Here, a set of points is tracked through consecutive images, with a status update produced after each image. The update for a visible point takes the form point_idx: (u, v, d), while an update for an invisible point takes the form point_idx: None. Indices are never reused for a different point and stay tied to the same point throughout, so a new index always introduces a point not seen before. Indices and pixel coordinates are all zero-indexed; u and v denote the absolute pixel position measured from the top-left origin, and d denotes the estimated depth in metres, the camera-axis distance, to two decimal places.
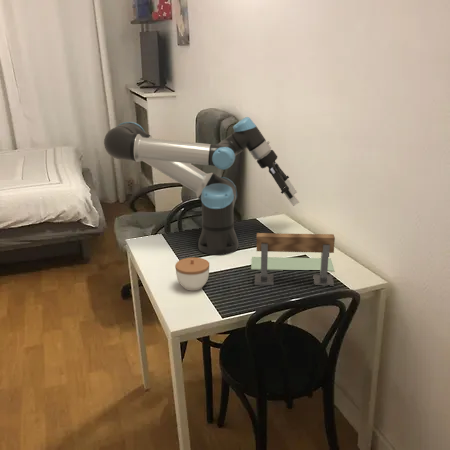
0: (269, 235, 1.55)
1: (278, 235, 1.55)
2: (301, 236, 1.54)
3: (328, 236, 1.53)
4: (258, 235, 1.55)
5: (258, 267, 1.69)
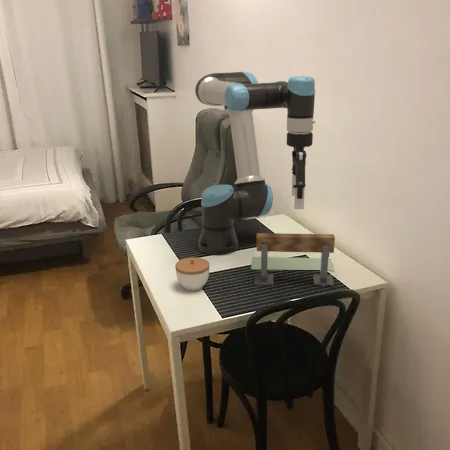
0: (269, 235, 1.55)
1: (278, 235, 1.55)
2: (301, 236, 1.54)
3: (328, 236, 1.53)
4: (258, 235, 1.55)
5: (258, 267, 1.69)
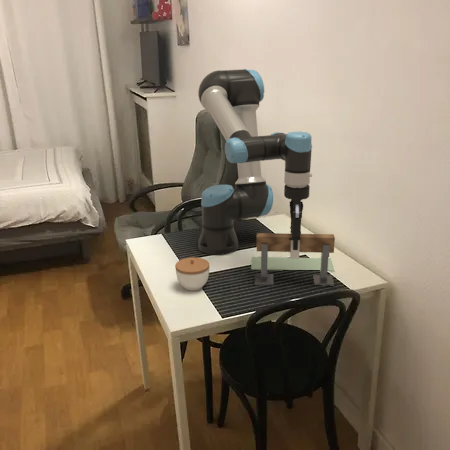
0: (269, 235, 1.55)
1: (278, 235, 1.55)
2: (301, 236, 1.54)
3: (328, 236, 1.53)
4: (258, 235, 1.55)
5: (258, 267, 1.69)
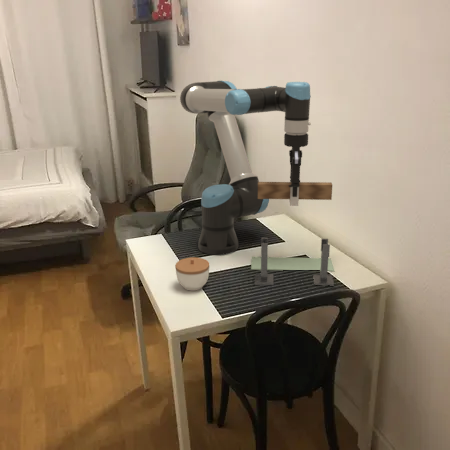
0: (270, 183, 1.62)
1: (278, 183, 1.62)
2: (300, 184, 1.61)
3: (326, 184, 1.60)
4: (259, 183, 1.62)
5: (258, 267, 1.69)
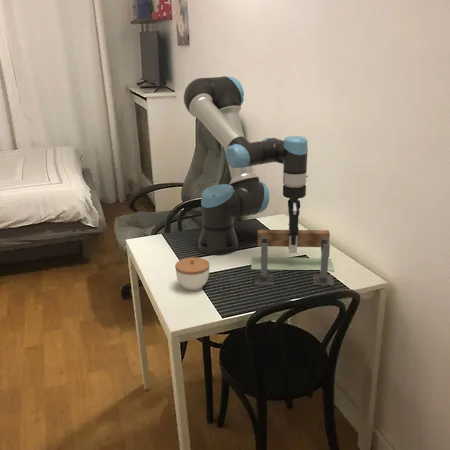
0: (269, 231, 1.68)
1: (277, 231, 1.68)
2: (299, 232, 1.67)
3: (324, 232, 1.66)
4: (259, 231, 1.68)
5: (258, 267, 1.69)
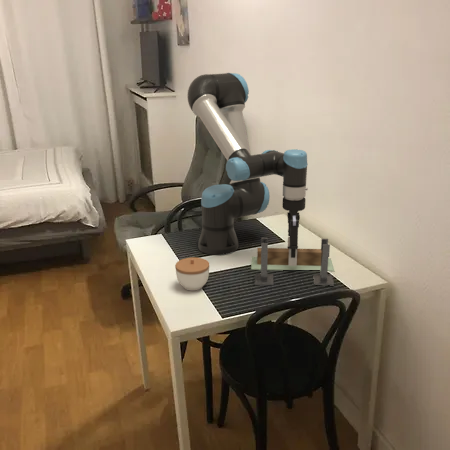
0: (269, 249, 1.71)
1: (277, 250, 1.70)
2: (298, 251, 1.69)
3: None
4: (259, 250, 1.71)
5: (258, 267, 1.69)
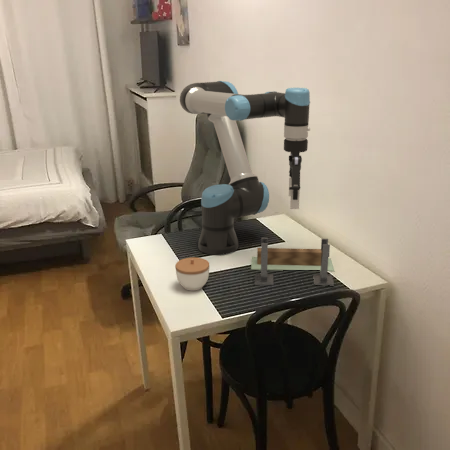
0: (269, 249, 1.71)
1: (277, 250, 1.70)
2: (298, 251, 1.69)
3: None
4: (259, 250, 1.71)
5: (258, 267, 1.69)
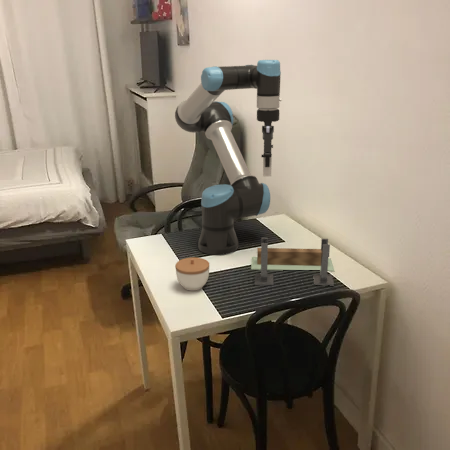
0: (269, 249, 1.71)
1: (277, 250, 1.70)
2: (298, 251, 1.69)
3: None
4: (259, 250, 1.71)
5: (258, 267, 1.69)
